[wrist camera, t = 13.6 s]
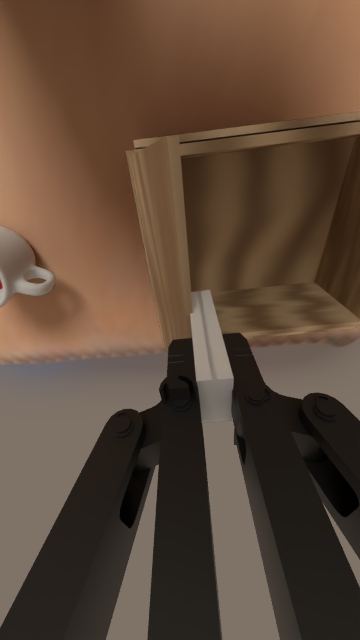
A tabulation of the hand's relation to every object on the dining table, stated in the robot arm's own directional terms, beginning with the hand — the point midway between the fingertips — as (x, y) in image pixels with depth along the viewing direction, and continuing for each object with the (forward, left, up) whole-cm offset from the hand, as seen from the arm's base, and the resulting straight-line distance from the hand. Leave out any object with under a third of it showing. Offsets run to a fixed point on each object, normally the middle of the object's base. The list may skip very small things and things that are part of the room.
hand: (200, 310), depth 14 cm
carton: (+7, 0, -17) cm, 18 cm away
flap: (-3, 0, -7) cm, 8 cm away
